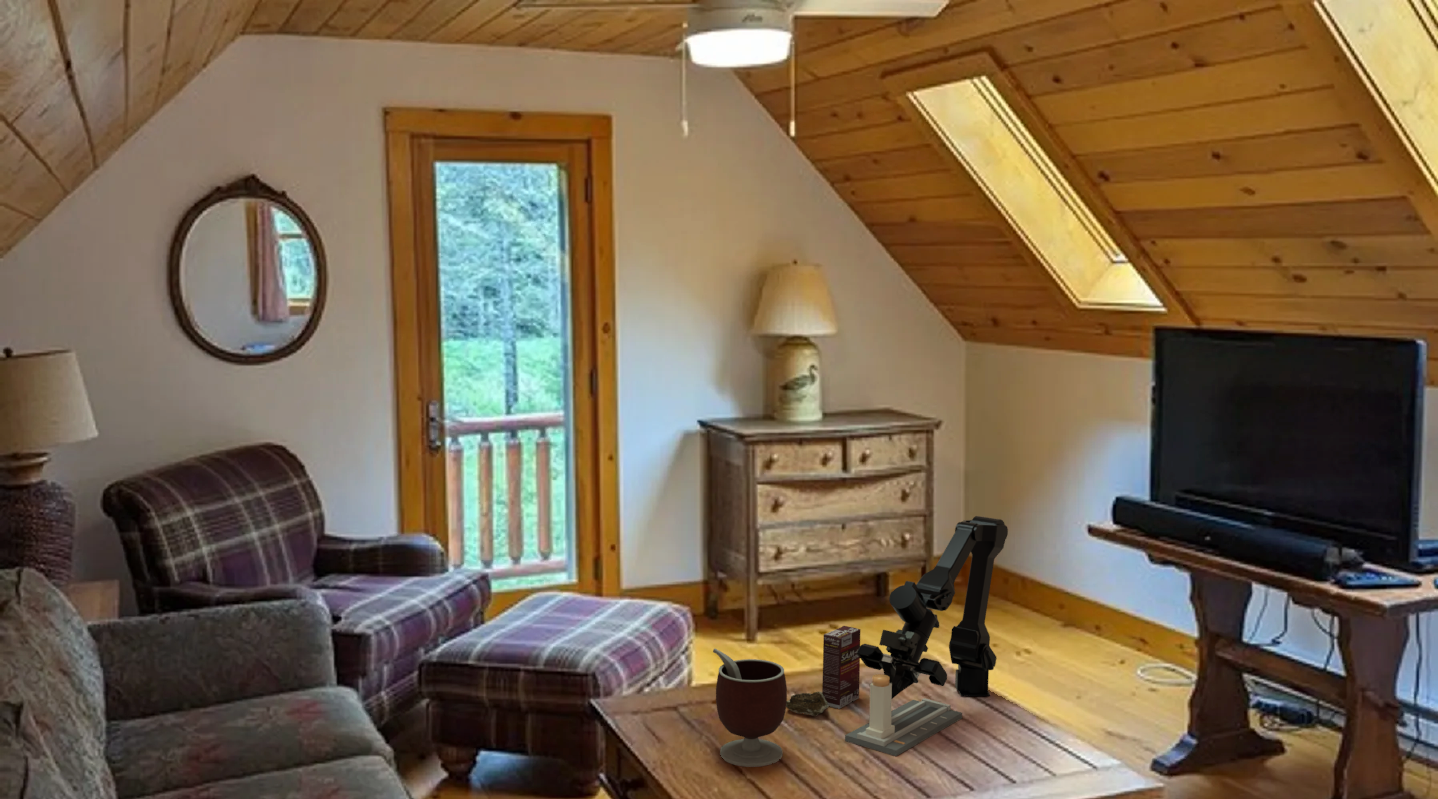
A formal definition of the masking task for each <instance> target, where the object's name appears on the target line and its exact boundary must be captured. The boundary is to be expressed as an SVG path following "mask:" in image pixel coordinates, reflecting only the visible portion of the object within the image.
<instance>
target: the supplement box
mask: <svg viewBox="0 0 1438 799" xmlns="http://www.w3.org/2000/svg"><path fill="white" fill-rule="evenodd" d="M822 642H823V644H822V646H823V647H822V648H823V649H822V650H823V654H822V685H821V687H822V688H821V690H822V691H821V692H822V693H823V695H824V697H825V700H826V701H827V703H828V705H829V706H830V707H829V706H828V707H829V708H833V709H837V708H838V709H837V710H840V709H841V708H843V707H845V706H846V705H849V704H850V703H853V702H854V701H856V700H859V699H860V672H861V671H860V669H861V665H860V664H861V663H860V661H861V659H860V657H859V656H858V655H857V651H858V649H859V647H860V646H861V629H860V628H856V627H852V626H847V625H842V626H841V627H839V628H836V629H834V630H831V631H830V632H827V633H824V634H823V641H822ZM852 701H853V702H852Z"/></svg>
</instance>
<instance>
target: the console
mask: <svg viewBox="0 0 1438 799" xmlns="http://www.w3.org/2000/svg"><path fill="white" fill-rule="evenodd" d="M961 719H963V712H961V711H958V710H954V709H951V704H948V703H944V702H941V701H937V700H932V699H929V698H922V699H921V701H920V700H916V699H911V700H909V701H908V702H906V703H904V704H902V705H900V706H898V707H896V708H894V709H891V725H894V726H895V733H894V734H893V735H891V736H889V737H887V738H885V739H881V738H878V737H874V736H871V735H868V734H866V728H868V727H869V722H868V723H866V724H863V725H862V726H860V727H858V728H856V729H854V730H852V731H850V732H849V733H846V734H844V741H845V742H847V743H850V744H851V743H852V744H854V745H858V746H860V747H865V748H868V749H871V750H874V751H878V752H880V753H884V754H887V755H890V756H893V757H897V756H899V755H901V754H902V753H904V752H906V751H908V750H910V749H911V748H913V747H915V746H916V745H918V744H920V743H922V742H923V741H925V740H927V739H929V738H930V737H932V736H934V735H936V734H937V733H938V732H941V731H942V730H944V729H946V728H948V727H950V726H952V725H953V724H955V723H956V722H958V721H960V720H961Z"/></svg>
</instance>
